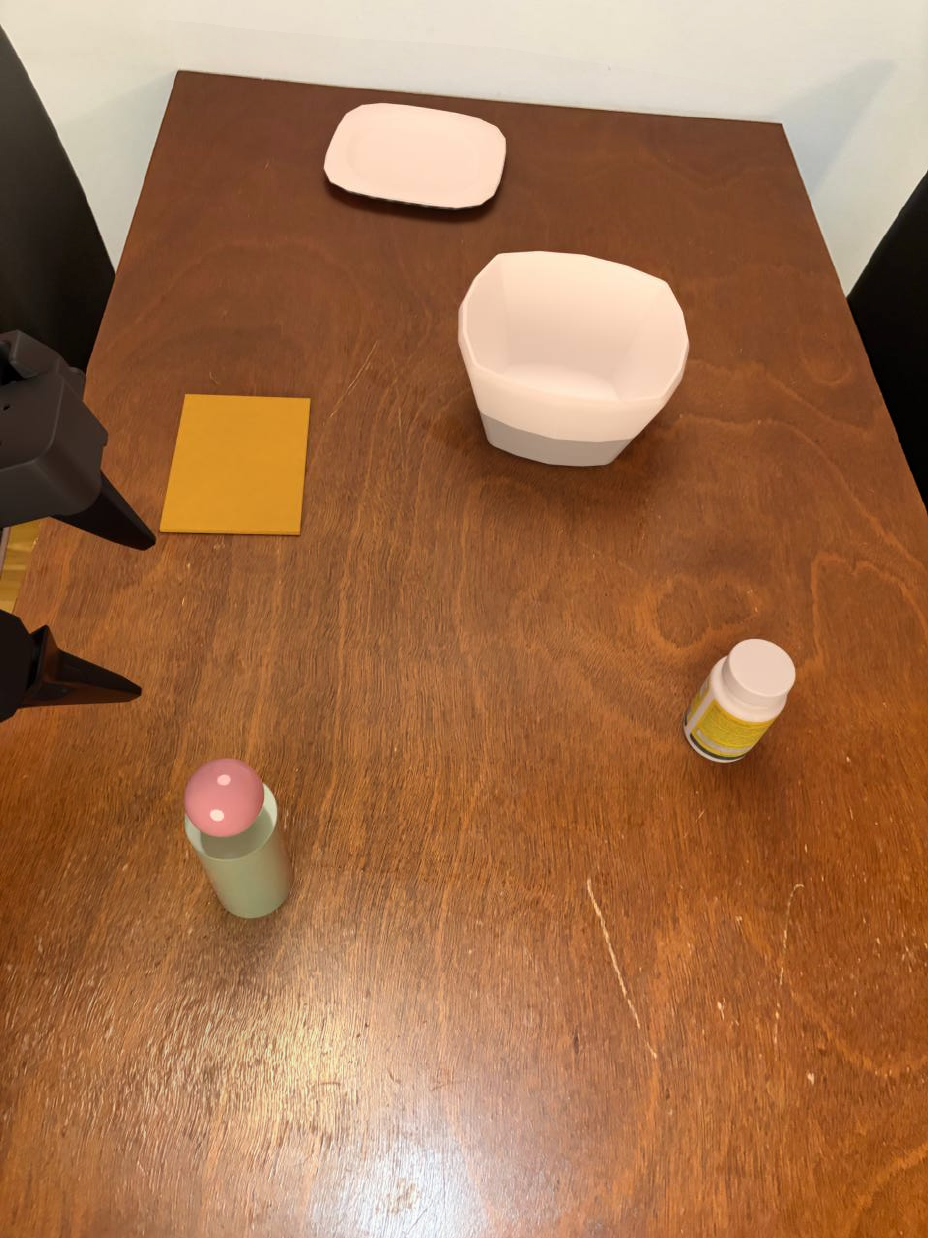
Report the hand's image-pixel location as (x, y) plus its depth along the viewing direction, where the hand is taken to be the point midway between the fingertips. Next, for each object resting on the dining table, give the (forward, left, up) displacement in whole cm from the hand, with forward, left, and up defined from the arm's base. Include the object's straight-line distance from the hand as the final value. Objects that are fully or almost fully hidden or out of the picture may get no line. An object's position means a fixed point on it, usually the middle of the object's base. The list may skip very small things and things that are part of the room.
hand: (144, 616), depth 45 cm
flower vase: (-4, -10, -13) cm, 17 cm away
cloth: (+17, +15, -13) cm, 26 cm away
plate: (+58, +34, -13) cm, 69 cm away
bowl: (+39, +1, -13) cm, 42 cm away
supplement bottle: (+23, -25, -13) cm, 37 cm away
